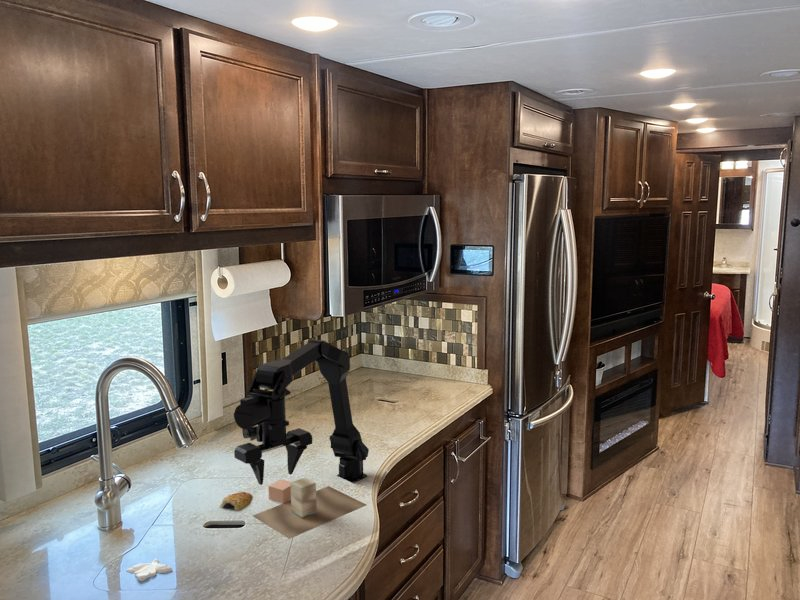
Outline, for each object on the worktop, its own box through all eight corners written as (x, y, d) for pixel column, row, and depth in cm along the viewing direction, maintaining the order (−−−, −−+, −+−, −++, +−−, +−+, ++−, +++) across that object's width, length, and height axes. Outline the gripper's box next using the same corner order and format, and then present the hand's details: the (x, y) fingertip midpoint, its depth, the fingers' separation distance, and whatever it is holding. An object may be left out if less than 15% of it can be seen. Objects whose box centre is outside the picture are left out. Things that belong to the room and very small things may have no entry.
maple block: (306, 506, 165) (305, 477, 163) (316, 512, 161) (315, 482, 160) (291, 512, 162) (290, 482, 160) (302, 518, 158) (300, 488, 157)
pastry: (237, 497, 174) (236, 484, 173) (259, 501, 172) (258, 487, 171) (217, 513, 165) (216, 499, 164) (240, 517, 163) (239, 502, 162)
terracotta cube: (281, 496, 174) (281, 479, 173) (296, 500, 171) (295, 483, 170) (269, 503, 169) (268, 485, 169) (283, 508, 167) (282, 490, 166)
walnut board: (328, 490, 177) (328, 486, 177) (367, 509, 166) (366, 504, 165) (252, 520, 160) (252, 515, 160) (289, 543, 149) (289, 538, 149)
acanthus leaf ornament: (172, 573, 139) (172, 565, 138) (141, 587, 134) (141, 578, 133) (156, 560, 144) (156, 552, 143) (126, 572, 139) (125, 564, 138)
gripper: (286, 401, 165) (288, 459, 167) (221, 418, 152) (223, 480, 154) (312, 410, 157) (314, 471, 159) (245, 429, 144) (248, 495, 146)
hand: (275, 479), depth 155 cm, fingers open, 8 cm apart
